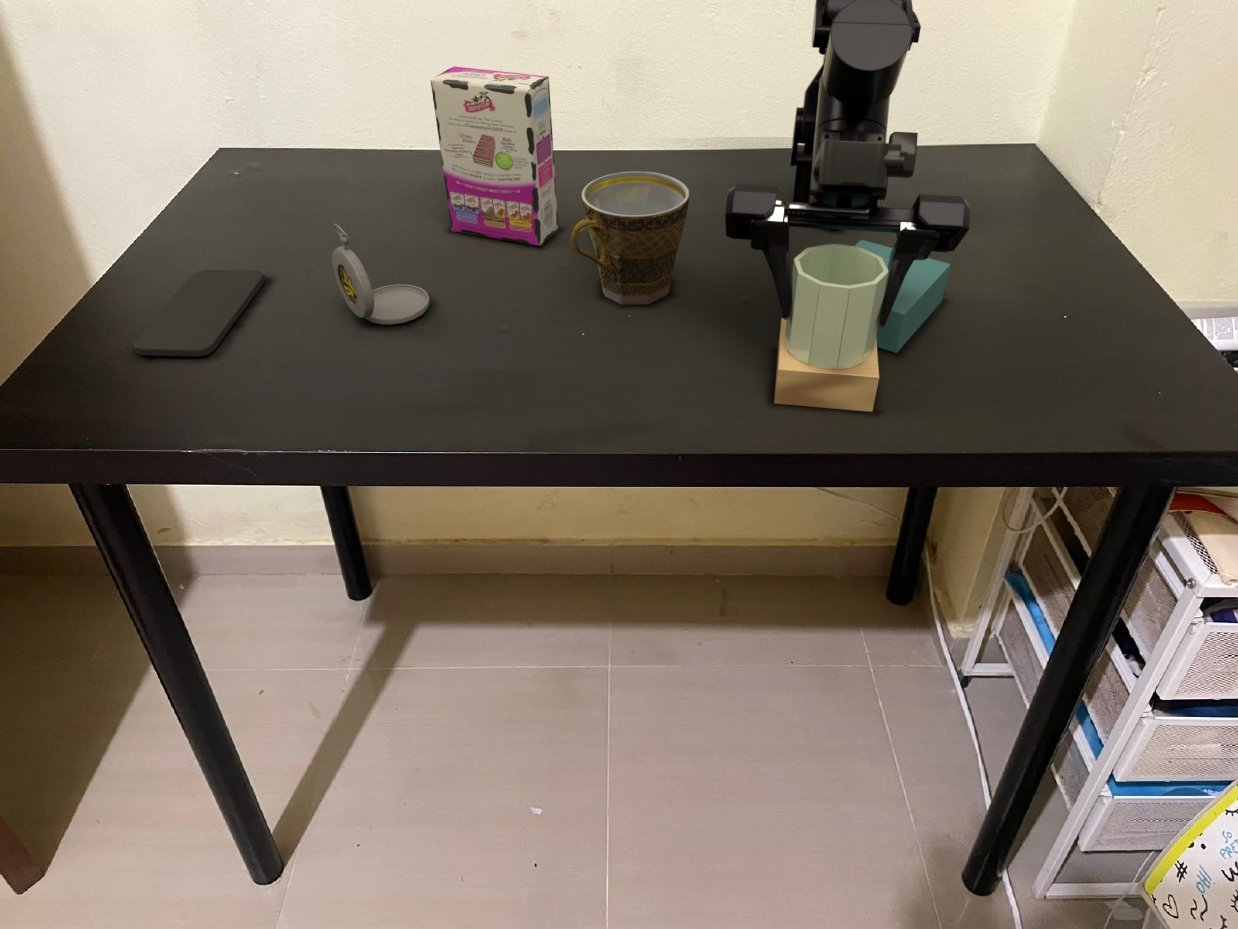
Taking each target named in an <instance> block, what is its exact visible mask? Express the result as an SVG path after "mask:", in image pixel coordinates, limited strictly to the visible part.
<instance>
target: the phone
mask: <svg viewBox="0 0 1238 929" xmlns="http://www.w3.org/2000/svg"><path fill="white" fill-rule="evenodd" d="M265 281H266V279H265V275H264V273H263V271H260V270H249V269H248V270H247V269H246V270H245V269H241V270H240V269H203V270H202V269H201V270H198V271H196V272H194V273H193V274H192V275H191V276H190V277H189V278H188V279H187V281H186V282H185V283H184V284H183V285H182V286H181V287H180V288H179V290H178V291H177V292H176V293H175V294H174V296H173V297H172V298H171V299H170V300H169V301H168V302H167V304H165V306H164V307H163V308H162V309H161V310H160V312H158V314H157V315H156V316H155V317H154V318H153V320H151V322H150V323H149V324H148V326H147V327H146V328H145V329H144V330H143V331H142V332H141V334H139V336H138V337H137V338H136V340H134V342H133V344H132V346H133V349H134V351H135V353H136V354H137V355H140V356H160V357H162V356H163V357H205V356H207V355H210V354H211V353H213V352H214V351H216V349H217V347H218V346H219V345H220V344H221V342H222V341H223V339H224V338H225V336H226V335H227V334H228V332H229V331H230V329H231V328H232V327H233V326H234V324H235V323H236V322H237V320H238V319H239V318H240V316H241V314H243V312H244V311H245V310H246V308H247V306H248V305H249V304H250V302H251V301H252V300H253V298H254V297H255V296H256V294H257V293H258V291H259V290H260V289H261V287H262V286H263V285H264V283H265Z"/></svg>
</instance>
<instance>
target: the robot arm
mask: <svg viewBox="0 0 1238 929" xmlns="http://www.w3.org/2000/svg"><path fill="white" fill-rule="evenodd" d="M921 29H922V25H921V22H920V21H919V17H918V15H917V14H916V12H915V11H914V8H913V1H912V0H815V2H814V11H813V21H812V30H811V47H812V48H815V49H818V54H819V55H822V64H821V66H820V67H819V69H818V70H817V72H816V74H815V75H814V77H813V78H812V79H811V81H810V82H809V84H808V86H807V87H806V88H805V91H804V94H803V102H802V103H803V104H802V106H801V107H800V106H797V107H796V109H795V115H794V116H795V118H794V123H793V131H792V142H791V152H790V167H796V168H795V177H794V186H793V193H792V201H783V200H777V197H778V185H763V184H748V183H747V184H746V183H735V184H734V185H733V186H731V187H730V189H729V190H728V191H727V194H726V204H725V214H724V217H725V218H724V220H725V237H727V238H730V239H732V240H746V241H750V248H751V249H752V250H755V251H761V252H762V253H763V256H764V259H765V261H766V263H767V265H768V268H769V271H770V273H771V275H772V279H773V282H774V286H775V290H776V294H777V298H778V304H779V306H780V310H781V315H782V318H783V319H784V320H788V319H789V312H790V302H791V265H790V264H791V262H790V260H791V259H790V227H792V228H793V227H795V228H810V229H825V230H831V231H838V230H843V231H859V232H874V233H875V232H876V233H889V234H890V233H891V234H892V233H893V234H896V237H895V238H896V241H895V243H894V245H893V246H892V248H893V249H892V251H891V253H890V258H889V263H888V268H887V269H888V277H887V282H886V287H885V292H884V298H883V303H882V308H881V313H880V318H879V327H884V325H885V324H886V321H887V319H888V317H889V314H890V312H891V309H892V307H893V304H894V302H895V300H896V297H897V295H898V292H899V290H900V288H901V285H902V283H903V281H904V278H905V276H906V274H907V272H908V270H909V268H910V267H911V265H912V263H913V261H914V260H925V259H927V258H929V257H930V255H931V254H932V252H933V253H950V252H954V251H955V250H956V249H957V247H958V246H959V245H960V243H961V241H963V239H964V238H965V236H966V235H967V233H968V232H969V231H970V222H971V221H970V220H971V210H972V209H971V205H970V204H969V202H968V201H967V200H966V198H965V197H964V196H962V195H947V194H946V195H945V194H944V195H943V194H927V193H918V194H917V196H916V199H915V201H914V203H913V205H912V207H911V208H905V207H887V206H886V207H885V206H882V205H881V203H882V201H884V200H885V199H886V197H887V195H888V183H889V178H897V179H898V178H900V179H910V178H912V177H913V176H914V173H915V172H914V171H915V168H916V160H917V151H918V138H919V137H918V136H919V133H918V132H911V131H909V132H908V131H893V132H892V133H891V134H889V137H887V136H888V135H887V134H888V125H889V124H888V123H889V111H890V101H891V100H890V99H891V95H892V94H893V92H894V90H895V88H896V86H897V84H898V81H899V78H900V75H901V72H902V69H903V66H904V63H905V61H906V57H907V54H908V52H910V51H911V48H912V45H913V44H919V40H920V36H921V35H920V34H921ZM887 138H888V142H887Z"/></svg>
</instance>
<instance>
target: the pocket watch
mask: <svg viewBox="0 0 1238 929" xmlns="http://www.w3.org/2000/svg"><path fill="white" fill-rule="evenodd" d="M332 226H333V228H334V230H335V232H336V233H337V235H338V236H339V241H340V242H341V243H342V245H340V246H338V247H336V249H334V250H333V251H332V255H331V263H332V269H333V274H334V277H335V281H336V284H337V286H338V289H339V291H340V293H341V295H342V297H343V299H344V301H345V303H346V304H347V306H348V307H349V309H350V310H351V311H352V313H353V314H354V315H355V316H357V317H358V318H361V319H362V318H363V319H365V320H367V321H368V322H370V323H372V324H373V323H374V324H377V325H389V326H393V325H400V324H405V323H407V322H410V321H413V320H416V319H417V318H419V317H420V316H422V315H424V313H425V312H426V311H427V310H428V309H429V306H430V296H429V294H428V292H427V291H426V290H425V289H424V288H422V287H419V286H417V285H413V284H405V283H404V284H403V283H401V284H400V283H399V284H389V285H384V286H380V287H377V288H375V289H373V288H372V283H371V280H370V277H369V275H368V273H367V270H366V269H365V267H364V265H363V264H362V262H361V260H360V259H359V257H358V256H357V255H356V254H355V252H354V251H353V250H352V249H351V247H350V242H351V238H350V237H349V235H347V232H346V231H344V229H343V228H342V227H341V226H340V225H339V224H337V223H336V222H335V223H333V225H332Z"/></svg>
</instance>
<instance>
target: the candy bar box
mask: <svg viewBox="0 0 1238 929" xmlns="http://www.w3.org/2000/svg"><path fill="white" fill-rule="evenodd" d="M430 88H431V93H432V102H433V108H434V115H435V122H436V127H437V128H436V129H437V136H438V143H439V144H438V145H439V152H440V157H441V158H440V159H441V166H442V171H443V179H444V186H445V193H446V201H447V207H448V208H447V209H448V215H449V223H450V229H451V231H452V232H454V233H460V234H465V235H470V236H471V235H472V236H478V237H481V238H482V237H483V238H489V239H495V240H499V241H505V242H506V241H507V242H512V243H518V244H524V245H529V246H536V247H540V246H542V245H543V244H545V243H546V241H547V240H549V238H551V237H552V236H553V235H554V234H555V233H556V232H557V231H558V230H559V218H558V217H559V216H558V214H559V213H558V200H557V187H556V186H557V185H556V168H555V156H554V137H553V122H552V106H551V105H552V104H551V90H550V88H551V87H550V77H549V76H547V75H537V74H529V73H522V72H511V71H502V70H493V69H492V70H491V69H483V68H474V67H464V66H452V67H450V68H448V69H446V70H444V71H443V72H441V73H439V74H438V75H436V76H435V77H433V78H431V79H430Z"/></svg>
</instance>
